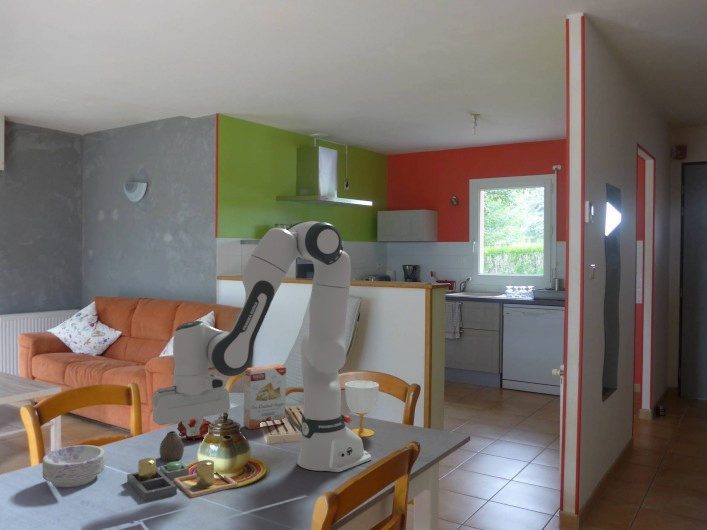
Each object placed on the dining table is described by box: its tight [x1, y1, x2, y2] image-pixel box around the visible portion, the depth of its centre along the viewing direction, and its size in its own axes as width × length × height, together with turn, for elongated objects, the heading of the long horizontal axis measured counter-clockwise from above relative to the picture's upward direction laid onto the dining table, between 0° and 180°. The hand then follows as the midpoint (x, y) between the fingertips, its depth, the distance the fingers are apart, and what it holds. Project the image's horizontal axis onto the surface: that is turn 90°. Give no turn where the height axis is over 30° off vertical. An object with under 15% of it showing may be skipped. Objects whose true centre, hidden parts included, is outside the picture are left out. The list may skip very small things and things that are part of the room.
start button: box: [166, 461, 182, 472], centre depth 167 cm, size 4×4×3 cm
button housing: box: [159, 462, 190, 481], centre depth 167 cm, size 6×6×3 cm
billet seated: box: [137, 457, 157, 482], centre depth 160 cm, size 4×4×6 cm
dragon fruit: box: [176, 418, 212, 441], centre depth 201 cm, size 8×8×12 cm
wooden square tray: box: [173, 472, 238, 498], centre depth 161 cm, size 13×13×2 cm
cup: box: [344, 379, 380, 438], centre depth 209 cm, size 12×12×17 cm
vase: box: [159, 430, 185, 463], centre depth 180 cm, size 7×7×9 cm
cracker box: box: [243, 364, 287, 430], centre depth 217 cm, size 14×6×21 cm, turn 124°
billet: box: [196, 459, 215, 488], centre depth 161 cm, size 4×4×6 cm
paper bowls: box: [42, 444, 106, 488], centre depth 163 cm, size 15×15×8 cm
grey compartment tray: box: [126, 467, 178, 502], centre depth 158 cm, size 8×15×3 cm, turn 36°
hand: (193, 434), depth 161 cm, fingers closed
